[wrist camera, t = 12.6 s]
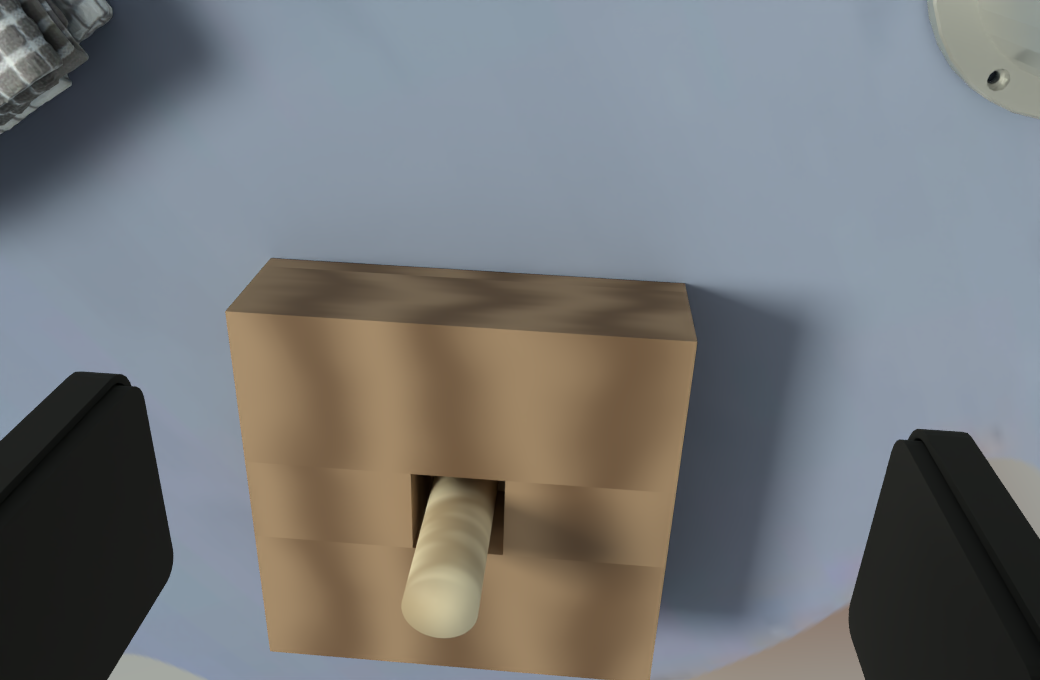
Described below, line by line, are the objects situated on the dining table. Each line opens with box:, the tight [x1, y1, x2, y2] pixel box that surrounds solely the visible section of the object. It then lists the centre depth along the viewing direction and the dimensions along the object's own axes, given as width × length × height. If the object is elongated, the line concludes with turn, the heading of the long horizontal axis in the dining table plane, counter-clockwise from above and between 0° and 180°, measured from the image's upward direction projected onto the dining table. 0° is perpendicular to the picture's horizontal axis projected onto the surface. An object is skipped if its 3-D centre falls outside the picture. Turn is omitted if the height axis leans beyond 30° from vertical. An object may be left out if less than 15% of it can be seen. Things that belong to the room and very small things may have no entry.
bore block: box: [225, 258, 697, 680], centre depth 45 cm, size 20×20×6 cm
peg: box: [401, 476, 499, 638], centre depth 42 cm, size 3×3×11 cm
